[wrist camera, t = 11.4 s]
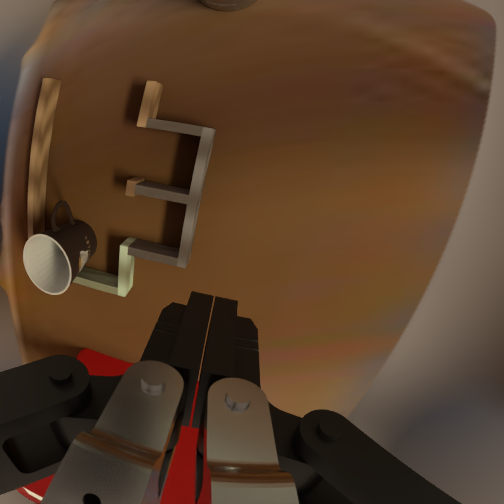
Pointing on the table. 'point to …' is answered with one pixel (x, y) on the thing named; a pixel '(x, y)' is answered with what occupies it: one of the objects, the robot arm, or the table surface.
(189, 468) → the book
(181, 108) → the table surface
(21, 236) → the table surface
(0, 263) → the table surface
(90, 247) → the coffee mug
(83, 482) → the robot arm
